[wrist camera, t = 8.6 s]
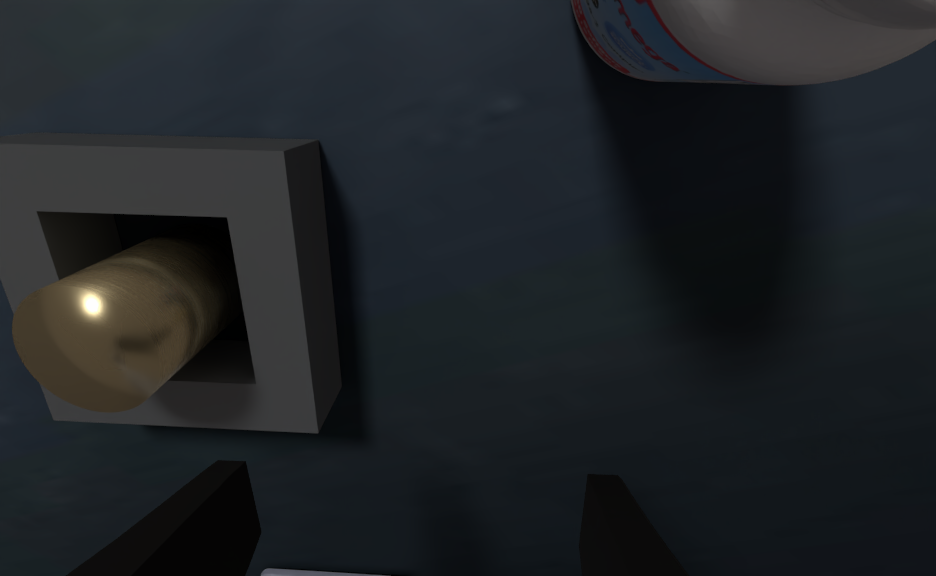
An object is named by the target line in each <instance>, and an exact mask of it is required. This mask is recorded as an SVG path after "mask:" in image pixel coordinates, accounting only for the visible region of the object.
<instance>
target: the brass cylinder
mask: <svg viewBox="0 0 936 576" xmlns="http://www.w3.org/2000/svg"><path fill="white" fill-rule="evenodd" d="M242 312H243V305H242V300H241V294H240V288H239V283H238V277H237V271H236V265H235V260H234V254H233V248H232V243H231V237H230V236H229V235H227V234H226V233H224V232H222V231H220V230H218V229H216V228H214V227H210V226H207V225H202V224H184V225H180V226H177V227H174V228H172V229H170V230H168V231H166V232H163V233H161V234H159V235H157V236H155V237H152V238H150V239H148V240H146V241H144V242H142V243H139V244H137V245H135V246H133V247H131V248H128V249H126V250H124V251H122V252H120V253H117V254H115V255H113V256H111V257H109V258H107V259H104V260H102V261H100V262H98V263H96V264H93V265H91V266H89V267H87V268H85V269H82V270H80V271H78V272H76V273H74V274H72V275H69V276H67V277H65V278H63V279H61V280H58V281H56V282H54V283H52V284H50V285H47V286H45V287H43V288H41V289H39V290H37V291H35V292H33V293H31V294H29V295H28V296H27V297H26V298H25V299H23V301H22V302H21V303H20V304H19V306H18V308H17V310H16V312H15V314H14V318H13V324H12V333H13V340H14V344H15V347H16V350H17V352H18V354H19V356H20V358H21V360H22V362H23V363H24V365H25V366H26V368H27V369H28V371H29V372H30V373H31V374H32V376H33V377H34V378H35V379H36V380H37V381H38V382H39V383H40V384H41V385H43V386H44V387H45V388H46V389H47V390H49V391H50V392H51V393H53V394H54V395H56V396H57V397H59V398H61V399H62V400H64V401H66V402H68V403H70V404H73V405H75V406H78V407H80V408H84V409H87V410H91V411H97V412H106V413H112V412H122V411H126V410H130V409H133V408H135V407H137V406H139V405H140V404H142V403H143V402H145V401H146V400H147V399H148V398H149V397H150V396H151V395H152V394H153V393H155V392H156V391H157V390H158V389H159V388H160V387H161V386H162V385H163V384H164V383H166V382H167V381H168V380H169V379H170V378H171V377H172V376H173V375H174V374H175V373H176V372H178V371H179V370H180V369H181V368H182V367H183V366H184V365H185V364H186V363H187V362H188V361H190V360H191V359H192V358H193V357H194V356H195V355H196V354H197V353H198V352H199V351H201V350H202V349H203V348H204V347H205V346H206V345H207V344H208V343H209V342H210V341H211V340H213V339H214V338H215V337H216V336H217V335H218V334H219V333H220V332H221V331H222V330H223V329H225V328H226V327H227V326H228V325H229V324H230V323H231V322H232V321H233V320H234V319H235V318H237V317H238V316H239V315H240V314H241V313H242Z"/></svg>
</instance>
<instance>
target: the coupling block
mask: <svg viewBox="0 0 936 576" xmlns="http://www.w3.org/2000/svg"><path fill="white" fill-rule="evenodd" d="M113 214H139V215H170V216H202V217H227V220H228V226H229V231H230V237H231V243H232V248H233V254H234V260H235V265H236V271H237V277H238V283H239V288H240V294H241V300H242V305H243V311H244V317H245V322H246V328H247V334H248V340H249V341H236V340H211V341H210V342H209V343H208V344H207V345H206V346H205V347H204V348H203V349H202V350H201V351H199V352H198V353H197V354H196V355H195V356H194V357H193V358H192V359H191V360H190V361H188V362H187V363H186V364H185V365H184V366H183V367H182V368H181V369H180V370H179V371H178V372H176V373H175V374H174V375H173V376H172V377H171V378H170V379H169V380H168V381H167V382H166V383H164V384H163V385H162V386H161V387H160V388H159V389H158V390H157V391H156V392H155V393H153V394H152V395H151V396H150V397H149V398H148V399H147V400H146V401H145V402H143V403H142V404H140V405H139V406H137V407H135V408H133V409H130V410H126V411H122V412H112V413H106V412H97V411H91V410H87V409H84V408H80V407H78V406H75V405H73V404H70V403H68V402H66V401H64V400H62V399H61V398H59V397H57V396H56V395H54V394H53V393H51V392H50V391H49V390H47V389H46V388H45V387H44V386H43V385H41V384H40V385H41V388H42V390H43V393H44V396H45V398H46V401H47V404H48V406H49V409H50V412H51V414H52V417H53V420H57V421H77V422H98V423H118V424H138V425H158V426H178V427H198V428H219V429H239V430H259V431H279V432H299V433H319V431H320V429H321V427H322V425H323V423H324V421H325V419H326V417H327V415H328V413H329V411H330V409H331V407H332V405H333V403H334V401H335V399H336V397H337V395H338V393H339V391H340V389H341V387H342V381H341V371H340V360H339V350H338V340H337V329H336V319H335V308H334V298H333V287H332V277H331V266H330V256H329V246H328V235H327V225H326V214H325V204H324V193H323V183H322V172H321V162H320V152H319V141H318V140H313V139H273V138H233V137H194V136H154V135H115V134H75V133H28V134H19V135H10V136H1V137H0V279H1V282H2V284H3V287H4V290H5V292H6V295H7V298H8V300H9V303H10V306H11V308H12V311H13V314H15V312H16V310H17V308H18V306H19V304H20V303H21V302H22V301H23V299H25V298H26V297H27V296H28V295H29V294H31V293H33V292H35V291H37V290H39V289H41V288H43V287H45V286H47V285H50V284H52V283H54V282H56V281H58V280H61V279H63V278H65V277H67V276H69V275H72V274H74V273H76V272H78V271H80V270H82V269H85V268H87V267H89V266H91V265H93V264H96V263H98V262H100V261H102V260H104V259H107V258H109V257H111V256H113V255H115V254H117V253H120V252H122V251H123V249H122V245H121V241H120V237H119V234H118V230H117V226H116V222H115V219H114V215H113Z"/></svg>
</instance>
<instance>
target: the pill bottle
mask: <svg viewBox="0 0 936 576" xmlns="http://www.w3.org/2000/svg"><path fill="white" fill-rule="evenodd" d="M571 4H572V9H573V12H574V15H575V19H576V22H577V24H578V26H579V29H580V31H581V33H582V35H583V36H584V38H585V40H586V41H587V43H588V44H589V46H590V47H591V48H592V50H593V51H594V52H595V53H596V54H597V55H598V56H599V57H600V58H601V59H602V60H603V61H604V62H605V63H607V64H608V65H609V66H611V67H612V68H614V69H616V70H617V71H619V72H621V73H623V74H625V75H628V76H631V77H633V78H637V79H641V80H647V81H656V82H697V83H732V84H754V85H805V84H818V83H824V82H830V81H837V80H841V79H845V78H850V77H854V76H857V75H860V74H863V73H867V72H870V71H873V70H875V69H878V68H881V67H883V66H885V65H888V64H890V63H893V62H895V61H898V60H900V59H902V58H904V57H906V56H908V55H910V54H912V53H914V52H916V51H918V50H919V49H921V48H923V47H924V46H926V45H928V44H929V43H931V42H933V41H934V40H936V0H571Z"/></svg>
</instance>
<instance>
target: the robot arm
mask: <svg viewBox="0 0 936 576" xmlns="http://www.w3.org/2000/svg"><path fill="white" fill-rule="evenodd" d="M260 535H261V528H260V523H259V519H258V514H257V510H256V505H255V501H254V496H253V492H252V488H251V483H250V479H249V474H248V470H247V465H246V461H222V460H218V461H216V462H215V463H214V464H212V465H211V466H210V467H208V468H207V469H206V470H204V471H203V472H202V473H200V474H199V475H198V476H196V477H195V478H194V479H193V480H191V481H190V482H189V483H188V484H186V485H185V486H184V487H182V488H181V489H180V490H179V491H177V492H176V493H175V494H174V495H172V496H171V497H170V498H169V499H167V500H166V501H165V502H163V503H162V504H161V505H160V506H158V507H157V508H156V509H154V510H153V511H152V512H151V513H149V514H148V515H147V516H145V517H144V518H143V519H142V520H140V521H139V522H138V523H136V524H135V525H134V526H133V527H131V528H130V529H129V530H127V531H126V532H125V533H123V534H122V535H121V536H120V537H118V538H117V539H116V540H114V541H113V542H112V543H110V544H109V545H108V546H106V547H105V548H103V549H102V550H101V551H99V552H98V553H97V554H95V555H94V556H92V557H91V558H90V559H88V560H87V561H85V562H84V563H83V564H81V565H80V566H79V567H77V568H76V569H74V570H73V571H72V572H70V573H69V574H68V575H66V576H245V574H246V572H247V569H248V567H249V564H250V562H251V559H252V557H253V554H254V551H255V548H256V546H257V543H258V540H259V537H260ZM579 551H580V559H581V568H582V576H689V575H688V574H687V572H686V571H685V570H684V568H683V567H682V566H681V564H680V563H679V562H678V560H677V559H676V558H675V556H674V555H673V554H672V552H671V551H670V550H669V548H668V547H667V546H666V544H665V543H664V541H663V540H662V539H661V537H660V536H659V534H658V533H657V532H656V530H655V529H654V527H653V526H652V524H651V523H650V521H649V520H648V519H647V517H646V516H645V514H644V513H643V511H642V510H641V508H640V507H639V505H638V504H637V502H636V501H635V499H634V498H633V496H632V494H631V493H630V491H629V490H628V488H627V487H626V485H625V483H624V482H623V480H622V479H621V478H620V477H619V476H618V475H595V474H588V476H587V484H586V492H585V500H584V509H583V517H582V525H581V533H580V542H579ZM261 576H389V575H372V574H356V573H339V572H323V571H307V570H290V569H274V568H269V569H265V570H264V571H263V572H262V574H261Z"/></svg>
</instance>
